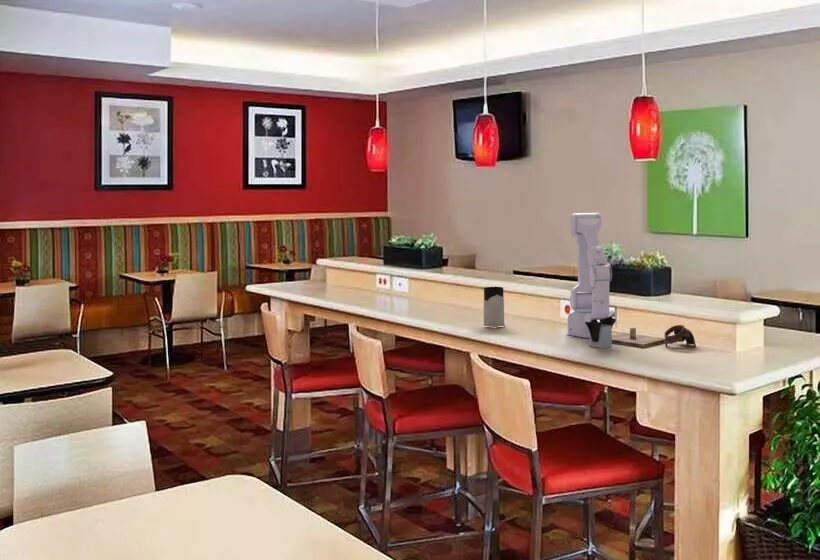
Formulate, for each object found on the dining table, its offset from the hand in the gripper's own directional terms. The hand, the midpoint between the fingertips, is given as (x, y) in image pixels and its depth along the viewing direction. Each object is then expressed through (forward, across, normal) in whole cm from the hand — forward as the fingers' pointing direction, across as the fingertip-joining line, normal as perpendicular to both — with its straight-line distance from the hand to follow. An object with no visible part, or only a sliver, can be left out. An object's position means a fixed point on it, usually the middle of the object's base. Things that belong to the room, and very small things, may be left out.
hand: (600, 340), depth 291 cm
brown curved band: (+2, +18, -19) cm, 26 cm away
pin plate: (+2, +14, -3) cm, 14 cm away
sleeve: (+2, 0, 0) cm, 2 cm away
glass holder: (+2, +5, +56) cm, 56 cm away
